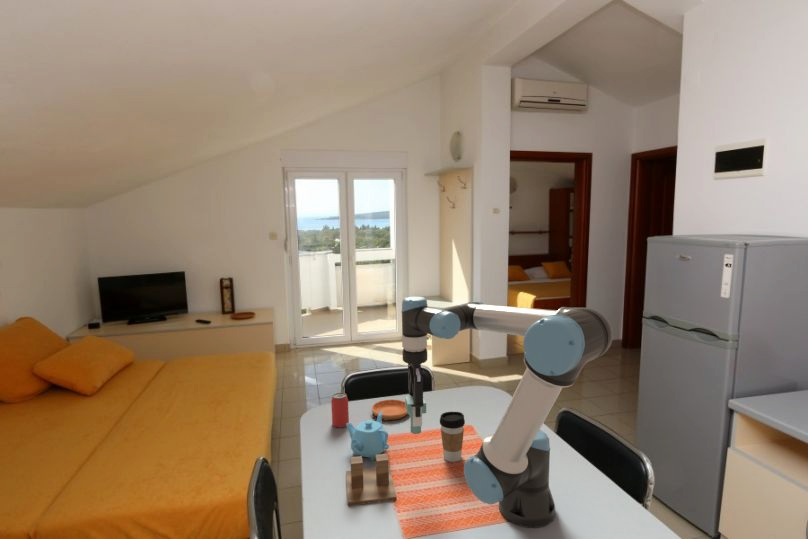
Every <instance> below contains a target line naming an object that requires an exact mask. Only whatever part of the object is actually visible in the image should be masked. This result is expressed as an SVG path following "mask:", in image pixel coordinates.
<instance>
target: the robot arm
mask: <svg viewBox="0 0 808 539" xmlns="http://www.w3.org/2000/svg"><path fill="white" fill-rule="evenodd" d="M466 330H478V331H484V332H493V333H499V334H505V335H506V334H507V335H513V336H518V337H519V336H520V337H523V342H522V348H523V350H524V353H523V355H524V356H523V363H524V365H525V367H526V369H524V370H525V371H524V373H523V375H522V377H521V379H520V380H519V383H518V385H517V387H516V389H515V391H514V393H513V396H512V397H511V399H510V401H509V402H508V403H509V404H507V405H508V406H507V407H506V409H505V411H504V413H503V416H502V417H501V419H500V421H499V423H498V426H497V428H496V430H495V431H494V433H492V434H488V436H486V437H485V439H484V440H483V442H482V443H481V446H480V448H479V450H478V452H477V453H476V454H475V455H473V456H470V457H469V458H468V459H467V460H466V461H465V462H464V466H463V474H464V478H465V480H466V484H467V486H468V488H469V489H470V491H471V493H472V494H473V495H474V496H475V497H476V499H478V500H479V501H481V502H482V503H484V504H486V505H496V504H497V503H498V509H499V512H500V513H501V515H502V516H503V517H504V518H505V519H506V520H508V521H509V522H511V523H513V524H515V525H517V526H520V527H521V526H522V527H525V528H541V527H545V526H547V525H549V524H551V523H552V522H553V521H554V519H555V516H556V504H555V501H554V498H553V495H552V492H551V489H550V485H549V484H550V460H551V459H550V454H551V453H550V452H551V447H550V438H549V436H548V434H546V432H544V431H543V430H541V428H542V426H543V424H544V422H545V421H546V419H547V417H548V415H549V413H550V412H551V409H552V408H553V406H554V404H555V403H556V401H557V399H558V397H559V396H560V393H561V391H562V390H563V389H564V388H569V387H571V386H573V385H574V384H575V382H576V381H577V379H578V377H579V375H580V374H581V371H582V369H583V368H584V366H585V365H586V364H587V363H588V362H591V361H593V360H595V359H597V358H600V357H601V356H603V355H604V354H605V353H607V351H608V350H609V349H610V347H611V345H612V342H613V338H614V337H613V336H614V332H613V327H612V324H611V322H610V321H609V320H608V318H607V317H606V316H605V315H604V314H603V313H602V312H601V311H599V310H597V309H594V308H591V307H568V306H561V307H560V308H558V310H556V309H542V308H533V307H532V308H531V307H522V306H521V307H518V306H508V305H507V306H506V305H497V304H495V305H493V304H485V303H484V302H482V301H477V300H476V301H469V302H466V303H461V304H458V305H457V304H456V305H451V306H447V307H443V308H442V307H441V308H435V307H429V306H428V301H427V299H426V298H425V297H423V296H407V297H404V298H403V299H402V302H401V332H402V334H401V341H402V342H401V346H402V348H403V349H402V361H403V362H404V363H406V364H407V376H408V378H407V380H408V381H407V382H408V384H407V385H408V388H407V390H408V391H407V392H408V394H409V396H408V397H411V396H413V404H412V405H411V407H413V427H416V426H421V427H422V426H423V414H422V407H423V405H424V404H423V397H424V374H423V371H424V370H423V367H422V364H423V363H426V362H427V361H428V348H427V347H428V341H427V340H429V339H430V337H429V336H428V335H431V336H433V337H435V338H438V339H445V340H451V339H454V338H455V337H456V335H458V334H459V332H462V331H466ZM409 418H411V415H409Z"/></svg>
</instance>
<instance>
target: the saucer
mask: <svg viewBox="0 0 808 539" xmlns="http://www.w3.org/2000/svg"><path fill="white" fill-rule="evenodd" d="M380 412H383V414H382V420H385V421H395V420H399V419H402V418H404V417H405V416H406V415H408V413H407V410H406V407H405V400H402V399H401V400H400V399H384V400H380V401H377V402H375V403H374V404H373V405H372V406H371V413H372V414H373V415H374V416H376V417H377V418H378V415H379V413H380Z"/></svg>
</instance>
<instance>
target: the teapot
mask: <svg viewBox="0 0 808 539" xmlns="http://www.w3.org/2000/svg"><path fill="white" fill-rule="evenodd" d="M382 414H383V412H380V413H379V415H378V417H377V419H376V421H375V420H371V419H370V420H364V421H362V422H359V424H358V425H357V426H356V427H355V426H353V424H352V423H351V422H349V423H347V424H346V425H347V426H346V427H347V431H348V433H349V436H350V439H351V441H350V449H351V451H352V452H353V453H354V455H355V457H359V456H362V457H364V458H368V459H369V460H370V461H374V460H376V455H378V454H382V453H383V452H384V451H385V450H386V451H387V450H389V449H390V445H389V443H388V439H389V432H388V430H386V429H385V428H384V426H383V422H382V421H383V419H382Z"/></svg>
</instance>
